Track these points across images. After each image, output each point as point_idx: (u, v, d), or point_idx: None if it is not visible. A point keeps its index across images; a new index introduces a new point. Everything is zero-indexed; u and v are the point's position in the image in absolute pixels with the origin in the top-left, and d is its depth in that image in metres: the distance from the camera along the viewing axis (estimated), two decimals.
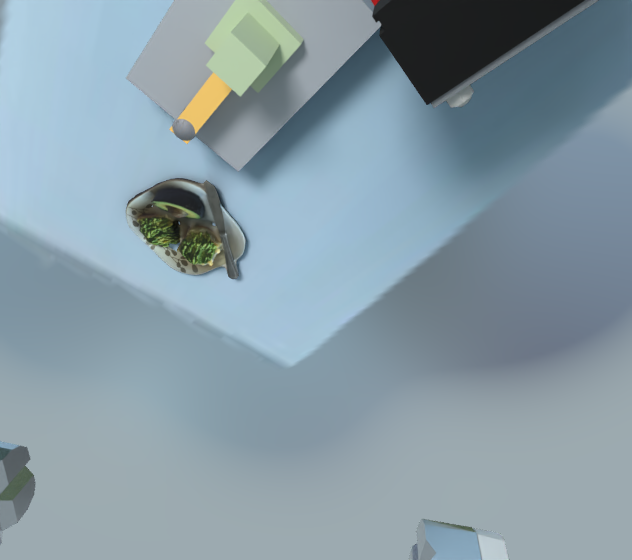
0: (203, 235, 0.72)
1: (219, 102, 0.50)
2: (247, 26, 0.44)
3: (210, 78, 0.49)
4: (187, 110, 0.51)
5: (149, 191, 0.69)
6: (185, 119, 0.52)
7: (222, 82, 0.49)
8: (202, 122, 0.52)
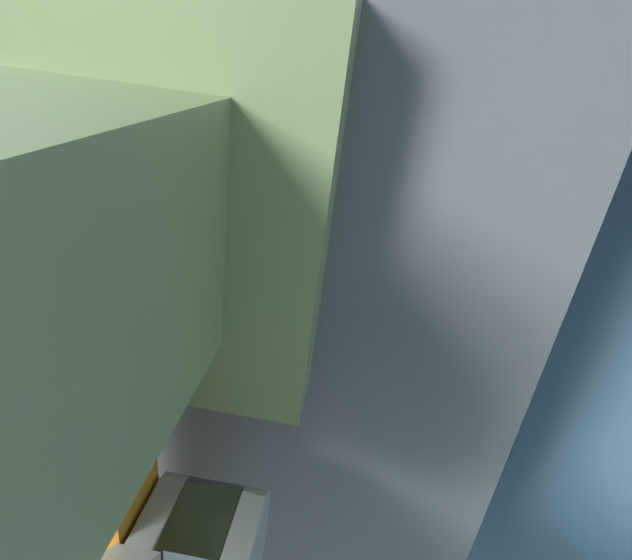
0: None
1: None
2: None
3: None
4: None
5: None
6: None
7: None
8: None
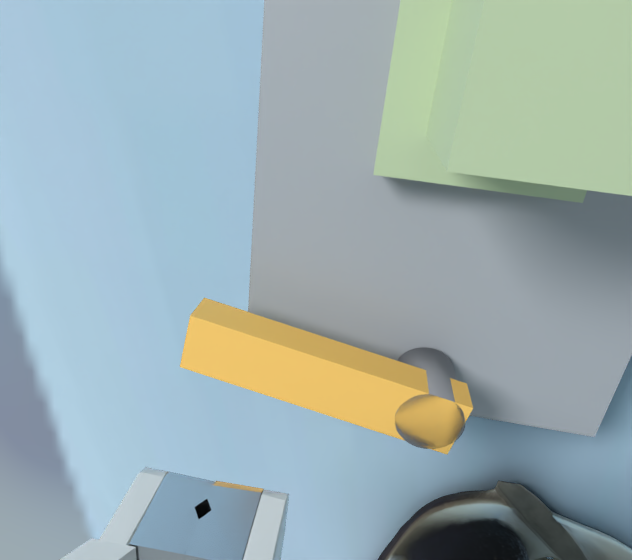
0: None
1: (294, 353, 0.18)
2: None
3: (246, 384, 0.18)
4: (364, 421, 0.18)
5: (392, 556, 0.32)
6: (394, 421, 0.18)
7: (237, 357, 0.18)
8: (378, 381, 0.18)
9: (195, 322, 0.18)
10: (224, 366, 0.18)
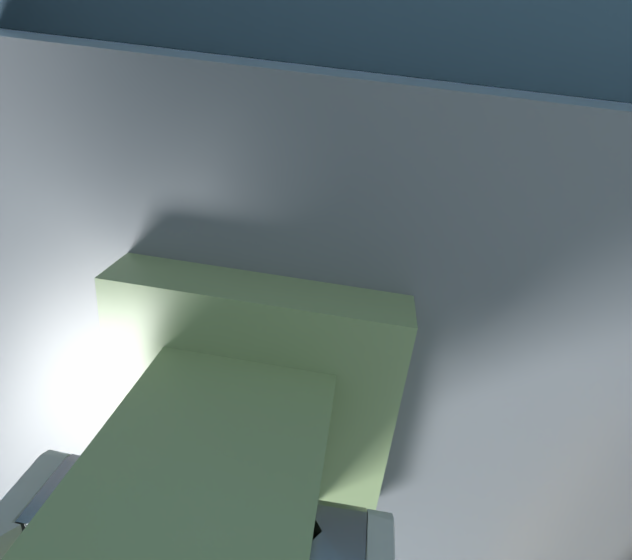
0: None
1: None
2: None
3: None
4: None
5: None
6: None
7: None
8: None
9: None
10: None
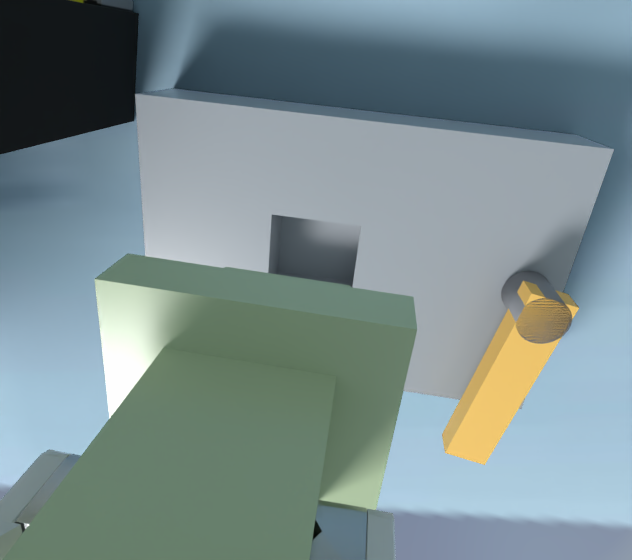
0: None
1: (476, 401, 0.26)
2: None
3: (501, 430, 0.27)
4: (540, 362, 0.24)
5: None
6: (542, 342, 0.24)
7: (478, 432, 0.27)
8: (503, 353, 0.25)
9: (450, 450, 0.28)
10: (485, 441, 0.27)
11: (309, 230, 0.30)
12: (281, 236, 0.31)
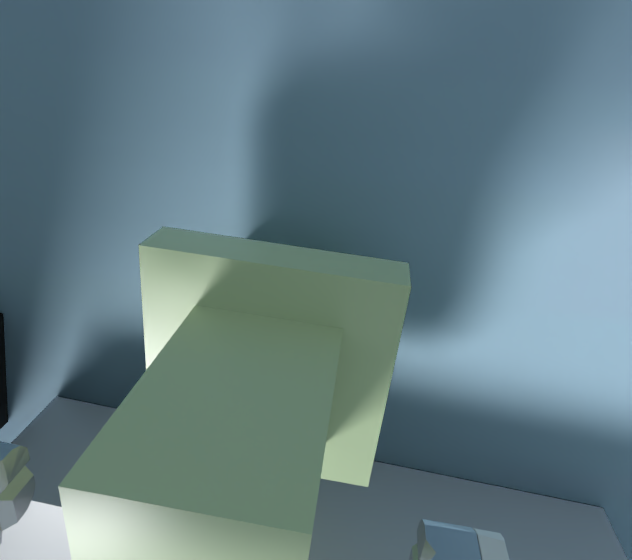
0: None
1: None
2: None
3: None
4: None
5: None
6: None
7: None
8: None
9: None
10: None
11: None
12: None
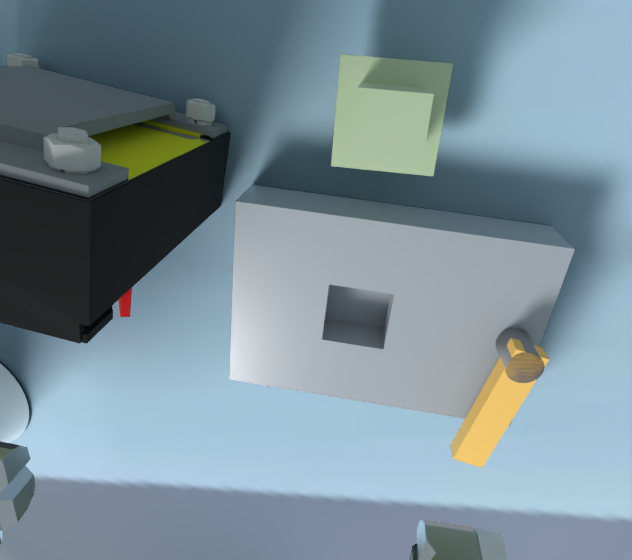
0: None
1: (476, 422, 0.36)
2: None
3: (494, 443, 0.37)
4: (522, 396, 0.34)
5: None
6: (524, 382, 0.34)
7: (477, 444, 0.37)
8: (496, 389, 0.34)
9: (457, 457, 0.38)
10: (483, 450, 0.37)
11: (351, 289, 0.40)
12: (330, 293, 0.41)
